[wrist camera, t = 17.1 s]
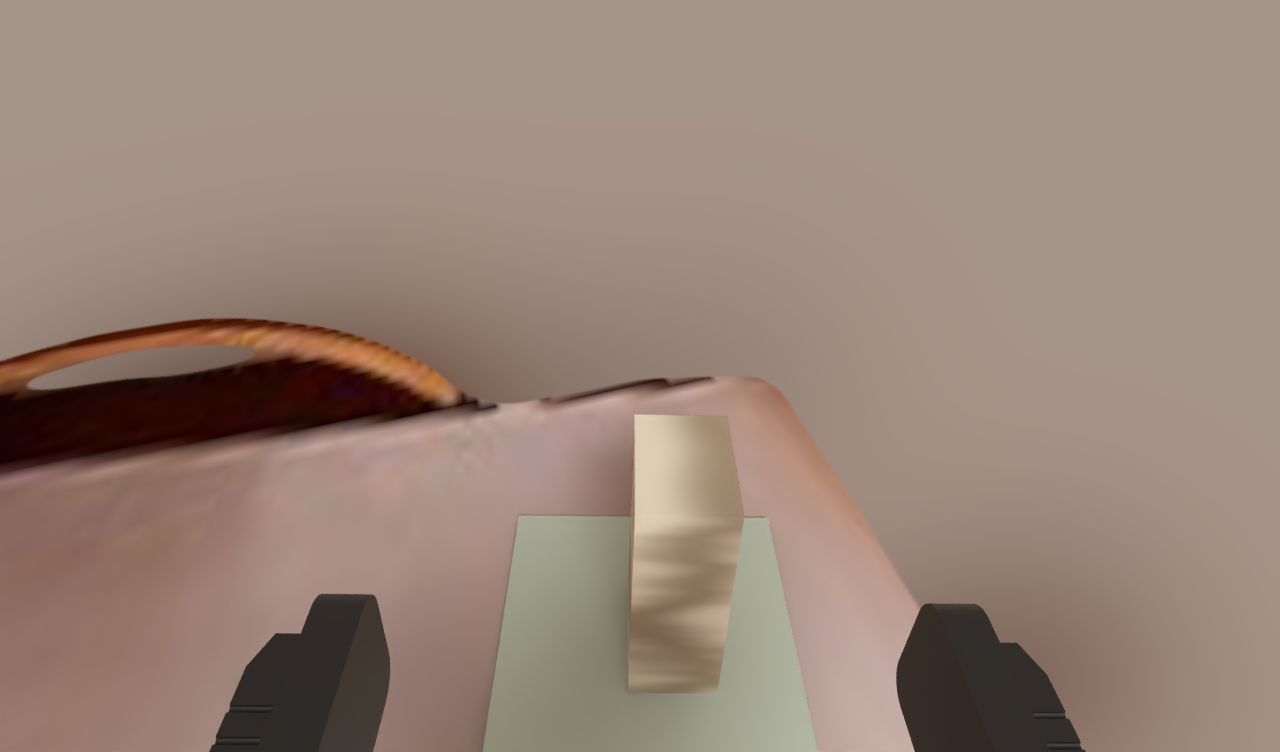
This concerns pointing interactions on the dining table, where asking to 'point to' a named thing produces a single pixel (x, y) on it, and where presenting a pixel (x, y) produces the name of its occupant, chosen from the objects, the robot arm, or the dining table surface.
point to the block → (681, 552)
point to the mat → (598, 653)
